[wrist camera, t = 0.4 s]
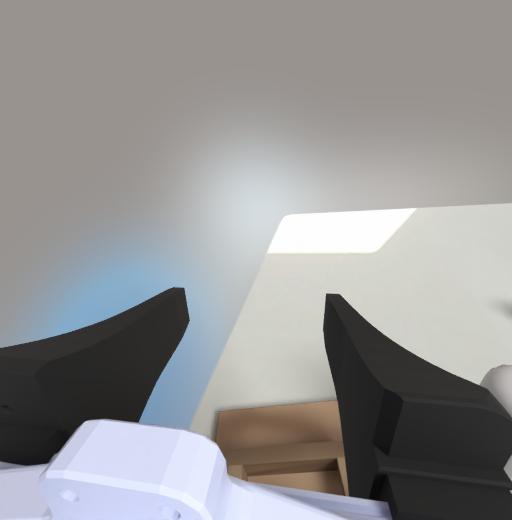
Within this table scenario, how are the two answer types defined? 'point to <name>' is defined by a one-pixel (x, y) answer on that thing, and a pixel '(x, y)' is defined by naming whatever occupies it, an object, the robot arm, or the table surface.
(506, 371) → the salt shaker
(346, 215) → the table surface
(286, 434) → the socket board
